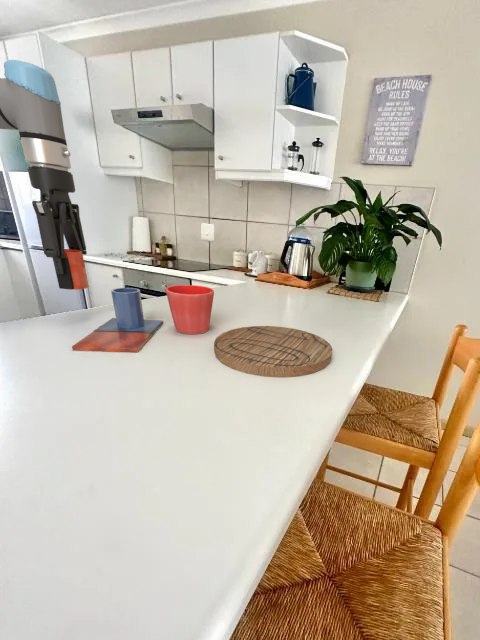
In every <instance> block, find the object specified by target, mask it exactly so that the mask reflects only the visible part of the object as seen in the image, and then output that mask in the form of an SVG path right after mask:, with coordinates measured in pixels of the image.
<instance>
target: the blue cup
mask: <svg viewBox="0 0 480 640" xmlns="http://www.w3.org/2000/svg"><path fill="white" fill-rule="evenodd" d="M110 292H111V298H112V305H113V311H114V318H116V323H117V326H118V327H120V328H125V329H133V328H139V327H142V326H144V320H145V317H144V311H143V301H142V293H141V290H140V288H134V287H117V288H116V287H115V288H112V289H111V290H110Z"/></svg>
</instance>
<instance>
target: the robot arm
mask: <svg viewBox="0 0 480 640" xmlns="http://www.w3.org/2000/svg"><path fill="white" fill-rule="evenodd" d="M3 69H4V73H3V75H4V77H3V78H2V77H1V78H0V130H11V131H18V133H19V138H20V143H21V147H22V151H23V155H24V161H25V162H26V163H27V164H29V166H28V167H27V172H28V173H27V174H28V177H29V182H30V186H31V187H32V188H33V189H36V190H39V194H40V195H39V199H40V200H32V201H31V205H32V207H33V210H34V213H35V215H36V221H37V226H38V230H39V235H40V240H41V245H42V250H43V254H44V255H45V257H46V258H51V259H52V261H53V267H54V270H55V275H56V279H57V284H58V288H59V289H61V290H69V289H74V286H73V281H72V276H71V271H70V266H69V262H68V258H65V250H64V249H65V242H66V244H67V248H68V249H75V250H81V251H82V254H83V256H84V255H85V256H86V255H87V253H88V252H87V245H86V241H85V237H84V231H83V226H82V221H81V217H80V207H79V204H77V203H72V199H71V198H70V195H69V193H70V194H73V193H75V192H76V186H75V180H74V175H73V174H72V172H70V171H69V170H70V169H72V165H71V160H70V157H71V152H70V150H69V149H68V143H67V138H66V133H65V127H64V120H63V113H62V105H61V104H62V103H61V101H60V97H59V93H58V89H57V84H56V81H55V78H54V77H53V75H52V73H50V71H47V70H46V69H45V68H43V67H41V66H39V65H36V64H33V63H30V62H27V61H23V60H19V59H18V60H17V59H7V60H6V61H4V62H3Z"/></svg>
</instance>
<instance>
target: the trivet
mask: <svg viewBox="0 0 480 640" xmlns="http://www.w3.org/2000/svg"><path fill="white" fill-rule="evenodd" d="M333 350H334V349H333V347H332V345H331V343H330V342H328V341H327V340H326V339H325V338H323V337H321V336H320V335H317V334H315V333H311V332H308V331H306V330H301V329H297V328H292V327H286V326H274V325H252V326H242V327H238V328H233V329H229V330H227V331H223V332H222V333H221V334H219V335H218V336H216V338H215V339H214V342H213V352H214V355H215V358H216V359H217V360H218V361H220V363H221V364H223V365H224V366H227V367H229V368H230V369H233V370H236V371H239V372H241V373H245V374H249V375H255V376H261V377H271V378H273V377H274V378H291V377H302V376H307V375H311V374H315V373H317V372H320V371H322V370H325V368H327V367H328V366H329V365H331V361H332V358H333V357H332V356H333Z"/></svg>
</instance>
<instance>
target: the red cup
mask: <svg viewBox="0 0 480 640" xmlns="http://www.w3.org/2000/svg"><path fill="white" fill-rule="evenodd" d="M64 250H65V258H68V262H69V266H70V271H71V276H72V281H73V286H74V289H68V290H69V291H71V290H73V291H75V290H77V291H78V290H85V289H89V287H90V286H89V280H88V276H87V270H86V265H85V259H84V255H83V254H82V251H81V250H75V249H69V248H64Z"/></svg>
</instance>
